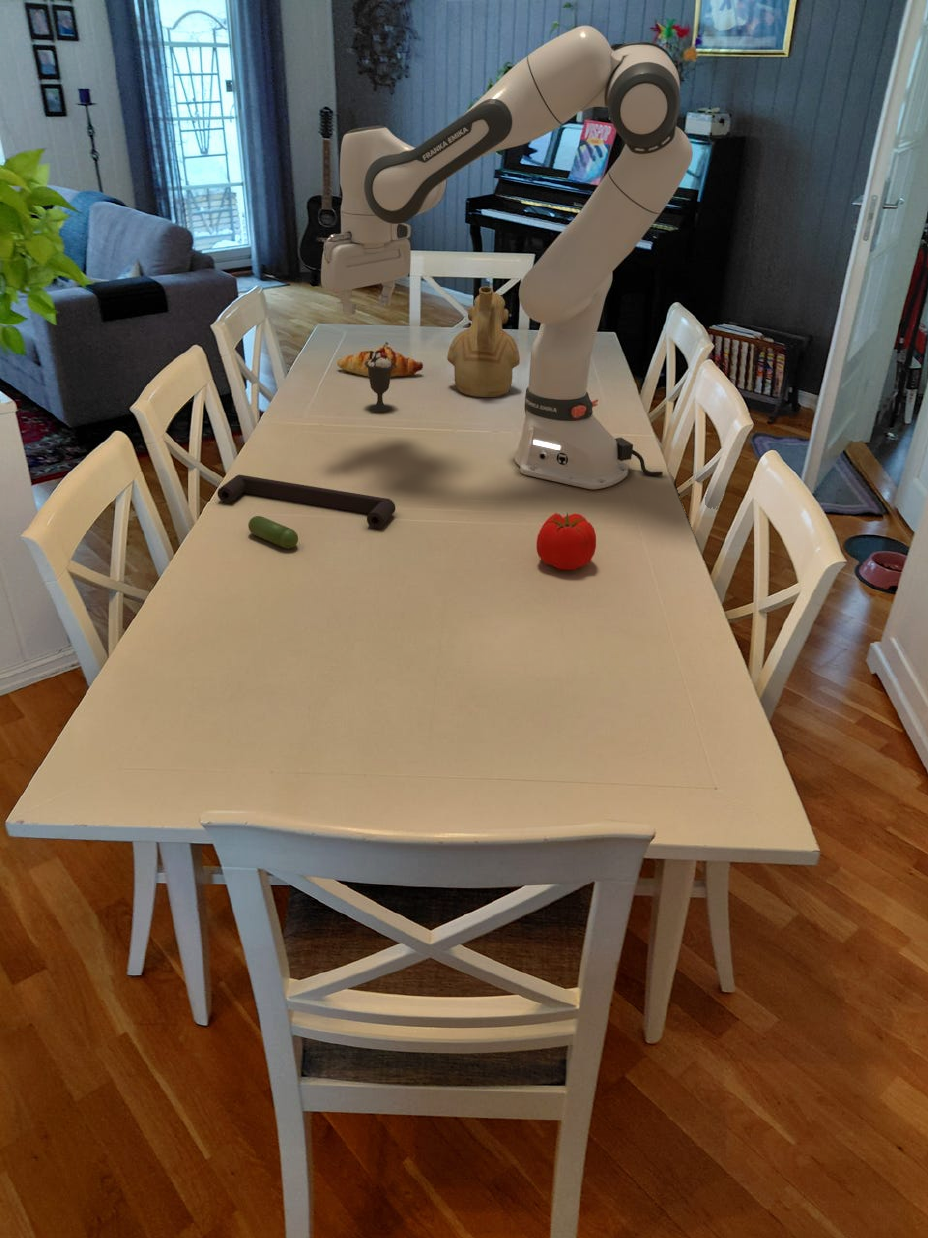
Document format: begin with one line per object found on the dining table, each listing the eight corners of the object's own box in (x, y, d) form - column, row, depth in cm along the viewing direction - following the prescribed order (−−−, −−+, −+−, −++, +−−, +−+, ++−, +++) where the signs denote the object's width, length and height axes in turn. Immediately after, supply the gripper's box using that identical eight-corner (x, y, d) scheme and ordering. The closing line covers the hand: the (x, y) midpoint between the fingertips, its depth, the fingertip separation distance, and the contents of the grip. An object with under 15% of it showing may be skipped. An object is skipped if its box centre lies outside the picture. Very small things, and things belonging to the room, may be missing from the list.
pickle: (302, 547, 148) (301, 529, 146) (288, 554, 146) (286, 535, 144) (259, 528, 153) (258, 510, 151) (244, 535, 151) (243, 517, 149)
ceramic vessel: (519, 380, 229) (527, 273, 216) (514, 405, 212) (522, 292, 199) (451, 375, 230) (454, 269, 217) (440, 400, 213) (444, 286, 200)
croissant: (336, 387, 229) (331, 363, 222) (341, 358, 234) (337, 333, 227) (422, 390, 228) (420, 366, 221) (425, 361, 233) (424, 336, 226)
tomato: (578, 547, 152) (583, 505, 148) (601, 573, 145) (607, 529, 141) (524, 553, 149) (528, 510, 146) (545, 579, 142) (550, 535, 138)
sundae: (394, 414, 204) (394, 345, 196) (363, 413, 204) (362, 343, 196) (396, 404, 209) (396, 337, 202) (366, 403, 209) (365, 335, 202)
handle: (218, 501, 161) (216, 485, 160) (235, 488, 166) (234, 472, 165) (383, 530, 155) (383, 513, 153) (395, 515, 160) (396, 499, 158)
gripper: (337, 237, 155) (339, 322, 162) (416, 226, 169) (415, 304, 176) (310, 232, 158) (314, 316, 166) (390, 221, 173) (390, 298, 180)
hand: (367, 309), depth 171 cm, fingers open, 8 cm apart
